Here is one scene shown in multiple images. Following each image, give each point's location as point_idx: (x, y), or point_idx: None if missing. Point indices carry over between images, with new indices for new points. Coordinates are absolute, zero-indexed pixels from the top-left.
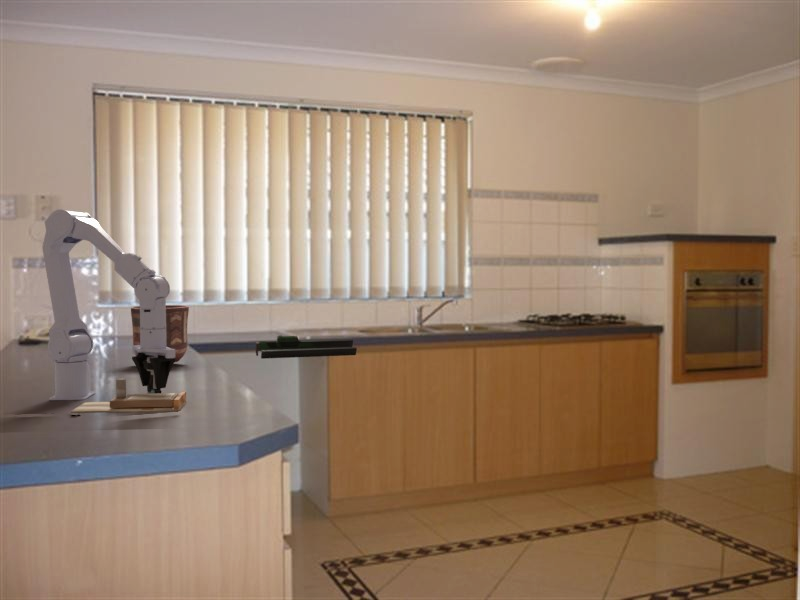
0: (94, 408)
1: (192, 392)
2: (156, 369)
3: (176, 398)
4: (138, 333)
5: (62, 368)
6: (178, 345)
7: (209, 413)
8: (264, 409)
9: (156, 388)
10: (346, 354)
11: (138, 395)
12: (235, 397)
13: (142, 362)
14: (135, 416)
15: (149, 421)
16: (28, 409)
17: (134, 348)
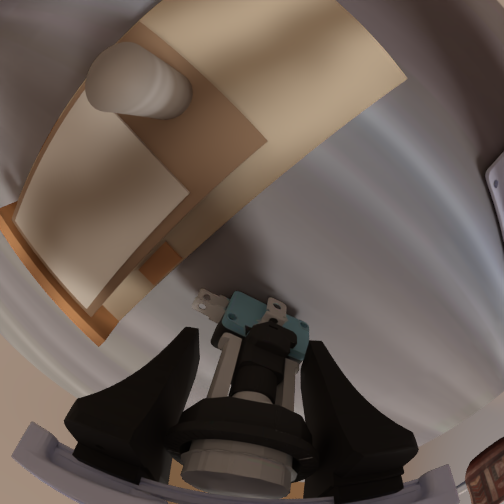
0: (227, 2)
1: None
2: (122, 381)
3: (8, 232)
4: None
5: None
6: (471, 478)
7: (5, 258)
8: (10, 336)
9: (220, 339)
10: None
11: (128, 176)
12: None
13: (330, 444)
14: (65, 92)
15: (8, 99)
16: (472, 3)
17: (437, 498)
